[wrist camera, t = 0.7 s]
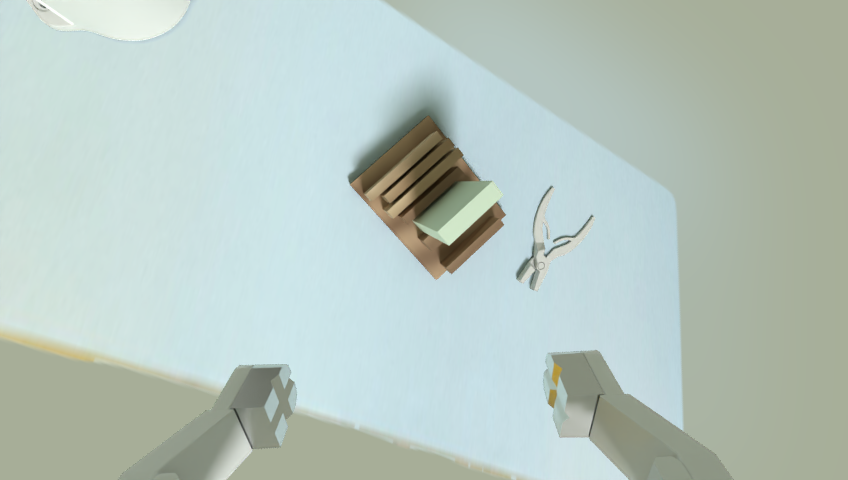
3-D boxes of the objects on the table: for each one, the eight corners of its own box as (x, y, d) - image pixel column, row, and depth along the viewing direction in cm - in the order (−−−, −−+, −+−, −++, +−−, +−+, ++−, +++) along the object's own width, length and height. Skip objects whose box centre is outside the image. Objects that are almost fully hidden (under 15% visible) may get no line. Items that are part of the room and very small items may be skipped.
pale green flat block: (411, 219, 50) (437, 231, 38) (453, 181, 51) (492, 180, 38) (420, 230, 51) (449, 245, 38) (462, 192, 52) (503, 195, 39)
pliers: (600, 219, 58) (551, 301, 58) (593, 218, 59) (546, 298, 59) (554, 186, 55) (504, 272, 55) (548, 186, 56) (499, 269, 56)
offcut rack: (349, 184, 49) (351, 184, 43) (426, 116, 50) (437, 108, 44) (434, 277, 54) (445, 288, 48) (502, 214, 55) (521, 217, 49)
